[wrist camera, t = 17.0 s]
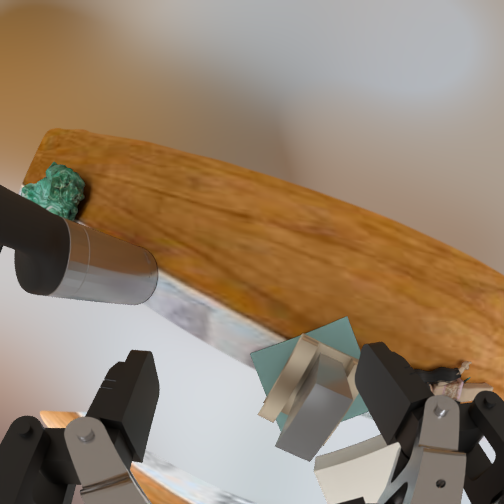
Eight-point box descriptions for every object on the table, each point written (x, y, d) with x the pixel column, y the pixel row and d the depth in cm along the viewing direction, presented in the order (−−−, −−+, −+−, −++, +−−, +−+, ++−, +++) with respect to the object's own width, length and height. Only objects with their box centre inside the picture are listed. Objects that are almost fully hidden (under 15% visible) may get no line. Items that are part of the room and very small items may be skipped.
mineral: (44, 251, 50) (11, 241, 40) (47, 193, 54) (18, 179, 45) (94, 219, 47) (56, 202, 37) (94, 156, 51) (64, 136, 41)
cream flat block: (334, 501, 26) (333, 516, 22) (315, 456, 29) (313, 471, 25) (436, 461, 23) (444, 474, 20) (426, 412, 26) (436, 422, 22)
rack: (326, 428, 29) (325, 446, 24) (265, 399, 32) (255, 413, 27) (366, 362, 30) (373, 372, 25) (302, 333, 33) (298, 337, 28)
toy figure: (486, 352, 26) (397, 365, 29) (510, 363, 20) (413, 382, 23) (477, 398, 25) (389, 414, 28) (497, 413, 19) (400, 437, 22)
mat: (284, 437, 31) (283, 439, 30) (250, 353, 34) (250, 353, 34) (378, 405, 28) (379, 406, 28) (346, 316, 32) (347, 316, 32)
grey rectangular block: (317, 404, 29) (309, 461, 16) (296, 394, 30) (275, 446, 17) (342, 362, 29) (353, 399, 16) (320, 352, 30) (316, 383, 17)
